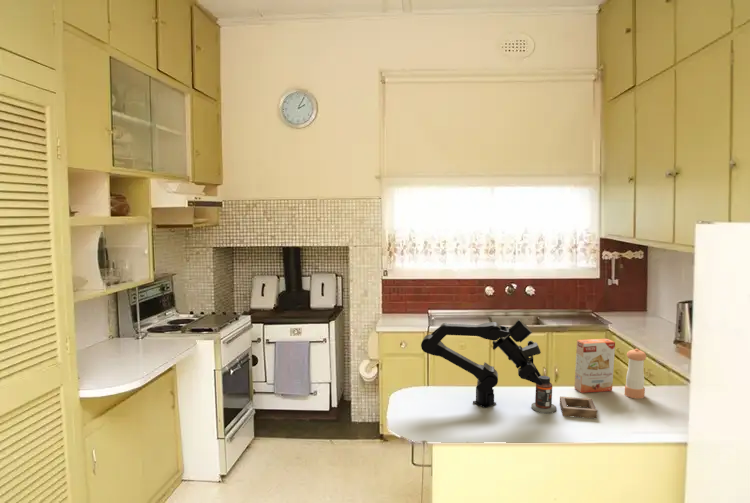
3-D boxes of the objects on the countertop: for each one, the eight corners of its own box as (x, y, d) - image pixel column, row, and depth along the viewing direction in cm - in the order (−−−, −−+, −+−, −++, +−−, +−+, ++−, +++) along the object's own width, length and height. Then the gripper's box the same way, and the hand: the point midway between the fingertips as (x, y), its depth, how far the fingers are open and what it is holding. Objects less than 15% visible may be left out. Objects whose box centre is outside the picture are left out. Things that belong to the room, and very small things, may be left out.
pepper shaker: (642, 392, 227) (644, 346, 225) (646, 399, 220) (649, 351, 218) (622, 391, 229) (625, 345, 226) (626, 397, 222) (628, 350, 219)
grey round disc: (526, 407, 212) (526, 405, 212) (541, 402, 218) (541, 400, 217) (546, 415, 205) (546, 413, 205) (561, 409, 210) (561, 407, 210)
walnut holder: (562, 415, 204) (563, 408, 204) (559, 403, 216) (559, 396, 215) (596, 418, 202) (597, 410, 202) (591, 406, 213) (591, 398, 213)
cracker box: (581, 393, 226) (583, 343, 224) (573, 388, 232) (575, 339, 230) (613, 391, 228) (615, 341, 226) (604, 386, 234) (607, 337, 232)
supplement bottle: (552, 410, 208) (553, 380, 207) (535, 408, 209) (536, 379, 208) (550, 403, 214) (551, 375, 212) (534, 402, 215) (535, 374, 213)
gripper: (529, 342, 201) (560, 375, 199) (526, 329, 219) (555, 359, 218) (505, 362, 203) (536, 394, 202) (505, 348, 221) (533, 377, 220)
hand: (540, 380), depth 210 cm, fingers open, 9 cm apart
